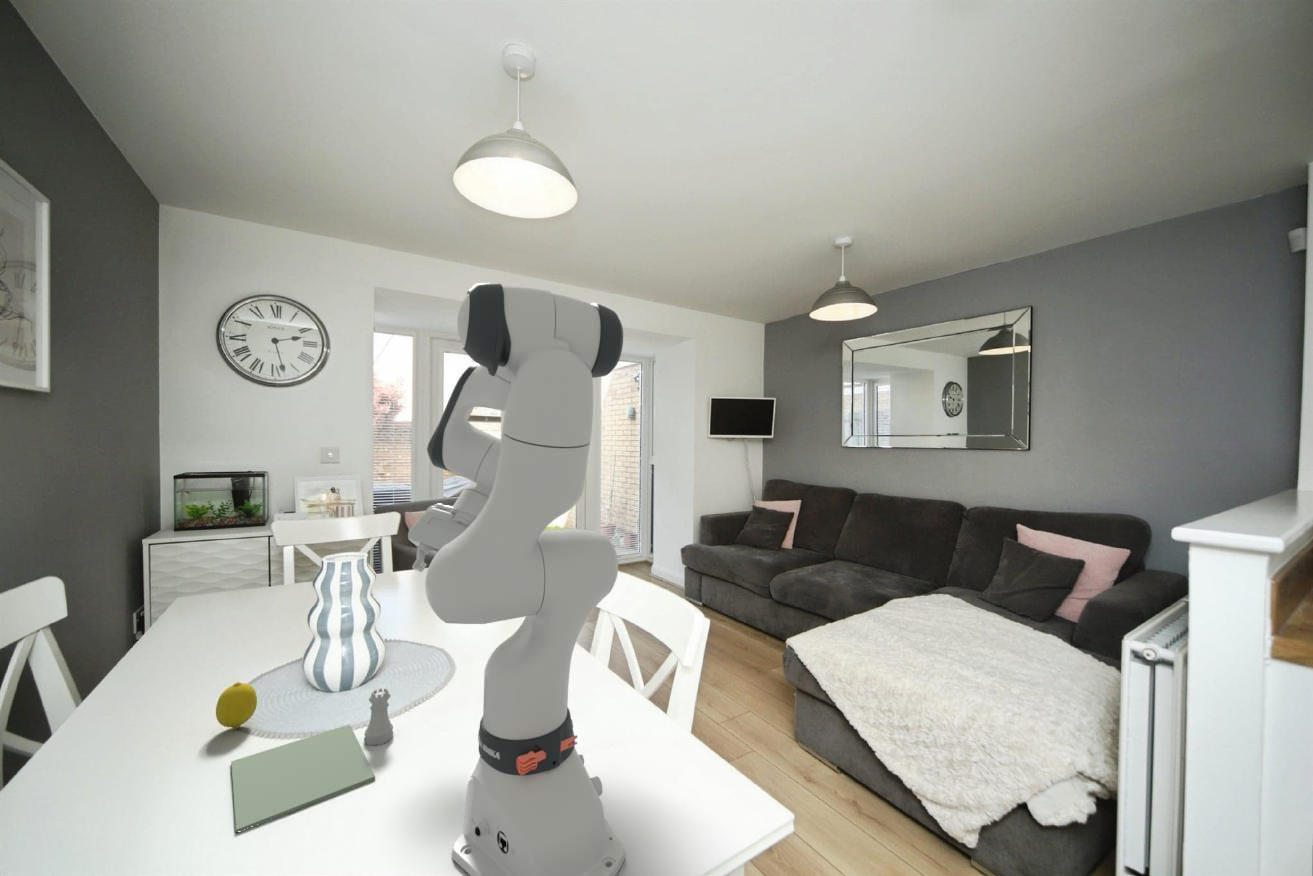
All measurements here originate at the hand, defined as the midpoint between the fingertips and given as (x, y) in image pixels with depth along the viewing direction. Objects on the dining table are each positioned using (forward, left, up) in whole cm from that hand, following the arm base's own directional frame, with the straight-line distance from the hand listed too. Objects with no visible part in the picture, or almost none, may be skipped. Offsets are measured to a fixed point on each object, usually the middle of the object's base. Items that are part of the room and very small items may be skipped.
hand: (436, 577), depth 94 cm
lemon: (+16, +28, -26) cm, 41 cm away
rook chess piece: (-3, +10, -26) cm, 28 cm away
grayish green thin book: (-5, +21, -25) cm, 33 cm away
